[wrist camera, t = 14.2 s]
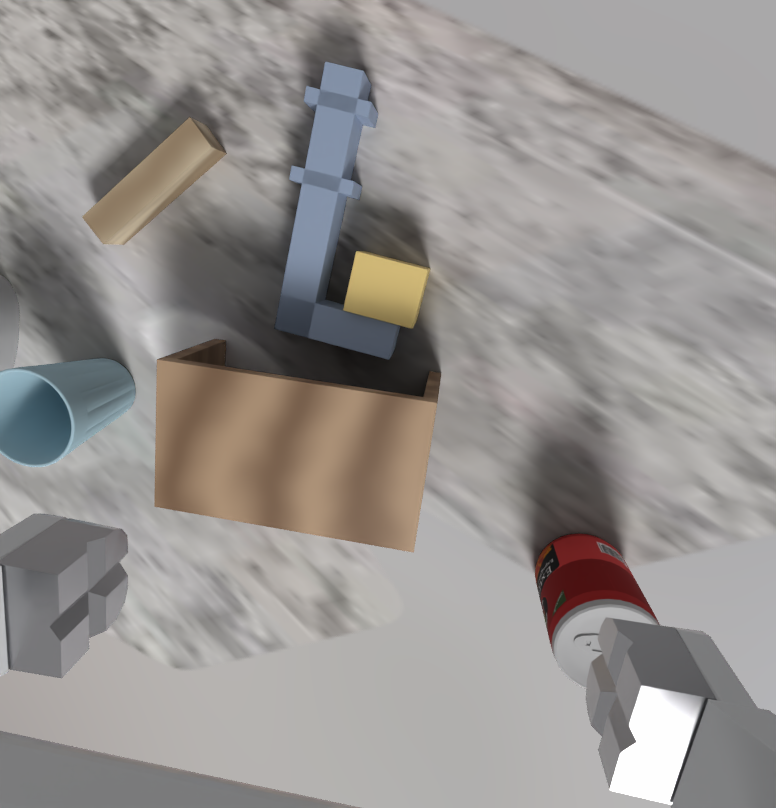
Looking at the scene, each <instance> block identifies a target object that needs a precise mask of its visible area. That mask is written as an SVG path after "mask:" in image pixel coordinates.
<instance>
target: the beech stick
mask: <svg viewBox="0 0 776 808" xmlns="http://www.w3.org/2000/svg"><path fill="white" fill-rule="evenodd" d="M226 154H227V153H226V152H225V151H224V149H223V148H222V146H221V145H220V144H219V142H218V141H217V139H216V138H215V137H214V135H213V134H212V133H211V131H210V130H209V128H208V127H207V126H206V125H204V124H202V123H200V122H198V121H196V120H194V119H192V118H191V117H189V118H188V119H187V120H186V121H185V122H184V123H183V124H182V125H181V126H180V127H179V128H177V129H176V130H175V131H174V132H173V133H172V134H171V135H170V136H169V137H168V138H167V139H166V140H164V141H163V142H162V143H161V144H160V145H159V146H158V147H157V148H156V149H155V150H154V151H153V152H152V153H150V154H149V155H148V156H147V157H146V158H145V159H144V160H143V161H142V162H141V163H140V164H139V165H137V166H136V167H135V168H134V169H133V170H132V171H131V172H130V173H129V174H128V175H127V176H126V177H125V178H123V179H122V180H121V181H120V182H119V183H118V184H117V185H116V186H115V187H114V188H113V189H112V190H111V191H109V192H108V193H107V194H106V195H105V196H104V197H103V198H102V199H101V200H100V201H99V202H98V203H96V204H95V205H94V206H93V207H92V208H91V209H90V210H89V211H88V212H87V213H86V214H85V215H84V216H82V218H83V219H84V220H85V221H86V223H87V224H88V225H89V226H90V228H91V229H92V230H93V232H94V233H95V234H96V235H97V237H98V238H99V239H100V241H101V242H102V243H103V244H117V245H124V244H125V243H126V242H127V241H129V240H130V239H131V238H132V237H133V236H134V235H135V234H136V233H138V232H139V231H140V230H141V229H142V228H143V227H144V226H146V225H147V224H148V223H149V222H150V221H151V220H152V219H153V218H155V217H156V216H157V215H158V214H159V213H160V212H161V211H162V210H164V209H165V208H166V207H167V206H168V205H169V204H170V203H172V202H173V201H174V200H175V199H176V198H177V197H178V196H179V195H181V194H182V193H183V192H184V191H185V190H186V189H187V188H188V187H190V186H191V185H192V184H193V183H194V182H195V181H196V180H198V179H199V178H200V177H201V176H202V175H203V174H204V173H205V172H207V171H208V170H209V169H210V168H211V167H212V166H213V165H214V164H216V163H217V162H218V161H219V160H220V159H221V158H222V157H224V156H225V155H226Z"/></svg>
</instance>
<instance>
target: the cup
mask: <svg viewBox="0 0 776 808" xmlns="http://www.w3.org/2000/svg"><path fill="white" fill-rule="evenodd" d="M134 399H135V384H134V381H133V379H132V377H131V375H130V373H129V372H128V370H127V369H126V368H125V367H123V366H122V365H121V364H119V363H118V362H116V361H114V360H110V359H106V358H98V359H89V360H80V361H72V362H63V363H55V364H47V365H38V366H28V367H19V368H11V369H6V370H3V371H0V453H1V454H2V455H4V456H5V457H6V458H8V459H10V460H11V461H13V462H15V463H18V464H21V465H24V466H29V467H44V466H48V465H51V464H53V463H55V462H57V461H59V460H60V459H62V458H63V457H64V456H66V455H67V454H69V453H70V452H71V451H73V450H74V449H75V448H77V447H78V446H79V445H81V444H82V443H84V442H85V441H86V440H88V439H89V438H90V437H92V436H93V435H95V434H96V433H97V432H99V431H100V430H102V429H103V428H104V427H106V426H107V425H109V424H110V423H111V422H113V421H114V420H116V419H117V418H118V417H120V416H121V415H122V414H124V413H125V412H126V411H127V410H128V409H129V408H130V407H131V406H132V404H133V402H134Z"/></svg>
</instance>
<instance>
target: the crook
mask: <svg viewBox="0 0 776 808" xmlns="http://www.w3.org/2000/svg"><path fill="white" fill-rule="evenodd" d="M370 89H371V84H370V82H369V80H368V78H367V76H366V74H365V72H364V71H362V70H358V69H354V68H350V67H346V66H342V65H338V64H333V63H329V62H325V66H324V71H323V76H322V82H321V87H320V89H317V88H313V87H309V86H306V92H305V97H304V102H305V103H306V104H307V105H308V106H309V107H310V108H311V109H312V110H313V111H314V112H315V118H314V123H313V129H312V134H311V139H310V144H309V150H308V155H307V160H306V165H305V169H304V168H300V167H296V166H292V167H291V173H290V178H289V180H291V181H294V182H296V183H298V184H301V185H302V186H301V191H300V197H299V202H298V207H297V212H296V218H295V223H294V228H293V233H292V238H291V244H290V249H289V254H288V259H287V265H286V270H285V275H284V280H283V285H282V291H281V296H280V301H279V306H278V312H277V317H276V322H275V327H274V329H277V330H281V331H284V332H288V333H292V334H295V335H299V336H303V337H307V338H310V339H314V340H318V341H321V342H325V343H329V344H333V345H336V346H340V347H344V348H347V349H351V350H355V351H358V352H362V353H366V354H370V355H373V356H377V357H381V358H384V359H388V360H389V359H390V357H391V356H392V354H393V353H394V350H395V346H396V342H397V338H398V334H399V330H400V325H396V324H392V323H389V322H385V321H381V320H377V319H374V318H370V317H366V316H362V315H359V314H355V313H351V312H347V311H344V310H343V308H344V304H340V303H336V302H332V301H329V300H325V299H326V294H327V290H328V285H329V280H330V276H331V271H332V266H333V262H334V257H335V252H336V248H337V243H338V238H339V234H340V229H341V224H342V220H343V215H344V210H345V206H346V201H347V197H350V198H354V199H358V200H359V199H360V195H361V190H362V186H360V185H359V184H357V183H356V182H354V181H351V177H352V173H353V168H354V163H355V159H356V154H357V149H358V145H359V140H360V135H361V131H362V126H363V125H366V126H370V127H374V128H375V127H376V122H377V118H378V113H377V111H376V109H375V107H374V106H373V104H372V102H369V101H368V98H369V93H370Z"/></svg>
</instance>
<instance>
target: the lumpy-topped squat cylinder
mask: <svg viewBox="0 0 776 808" xmlns="http://www.w3.org/2000/svg"><path fill="white" fill-rule="evenodd" d="M19 318H20V312H19V303H18V299H17V296H16V293H15V291H14V289H13V287H12V286H11V284H10V283H9V282H8V280H7V279H6V278H5V277H3V276H2V275H0V371H3V370H6V369H11V368H13V367H14V364H15V359H16V354H17V348H18V340H19Z"/></svg>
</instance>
